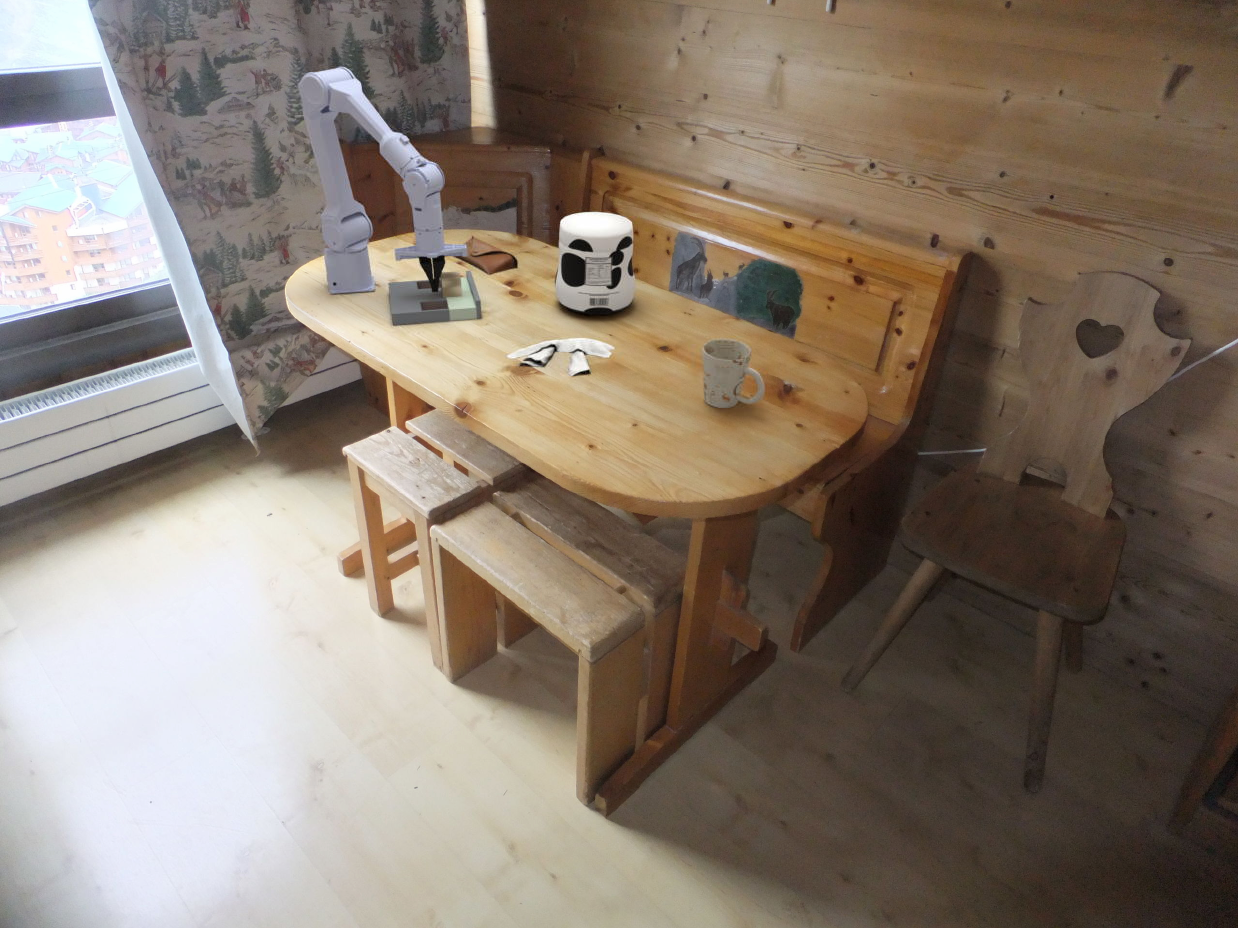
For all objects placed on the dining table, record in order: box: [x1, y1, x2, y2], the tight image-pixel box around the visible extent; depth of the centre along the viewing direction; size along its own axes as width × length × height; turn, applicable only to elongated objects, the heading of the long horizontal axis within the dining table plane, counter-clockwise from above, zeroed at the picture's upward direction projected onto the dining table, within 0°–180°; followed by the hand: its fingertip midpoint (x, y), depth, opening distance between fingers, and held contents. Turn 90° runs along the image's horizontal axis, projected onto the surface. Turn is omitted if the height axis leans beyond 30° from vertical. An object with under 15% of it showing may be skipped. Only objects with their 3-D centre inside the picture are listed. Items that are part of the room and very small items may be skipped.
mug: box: [701, 338, 766, 409], centre depth 139 cm, size 8×13×10 cm, turn 51°
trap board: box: [387, 270, 483, 326], centre depth 172 cm, size 18×17×4 cm
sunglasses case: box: [452, 235, 519, 275], centre depth 195 cm, size 18×7×7 cm, turn 44°
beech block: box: [440, 271, 462, 297], centre depth 171 cm, size 4×4×4 cm
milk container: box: [554, 211, 636, 315], centre depth 171 cm, size 17×17×18 cm
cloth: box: [505, 337, 615, 377], centre depth 154 cm, size 20×22×2 cm
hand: (434, 290), depth 171 cm, fingers closed
